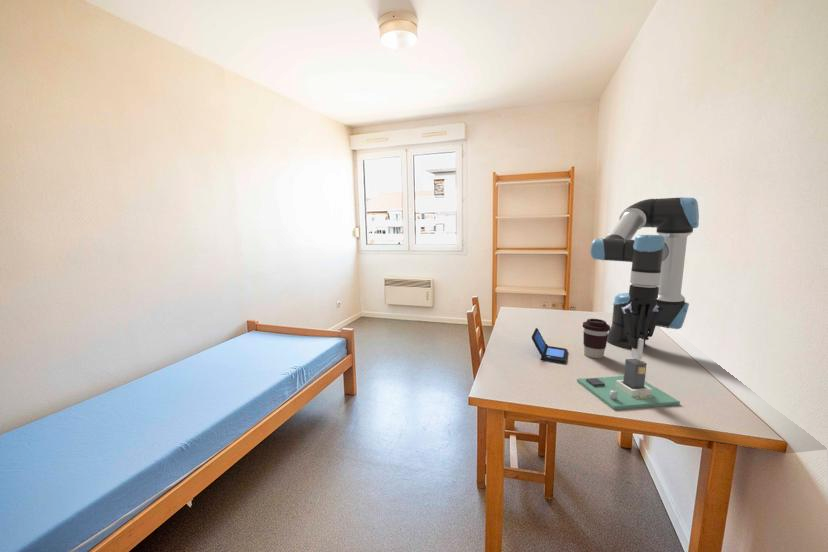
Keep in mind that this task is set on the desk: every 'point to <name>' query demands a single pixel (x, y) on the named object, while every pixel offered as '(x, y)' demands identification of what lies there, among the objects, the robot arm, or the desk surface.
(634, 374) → the plug
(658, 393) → the board
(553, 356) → the handheld game console
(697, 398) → the desk surface
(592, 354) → the coffee cup
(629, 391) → the header
